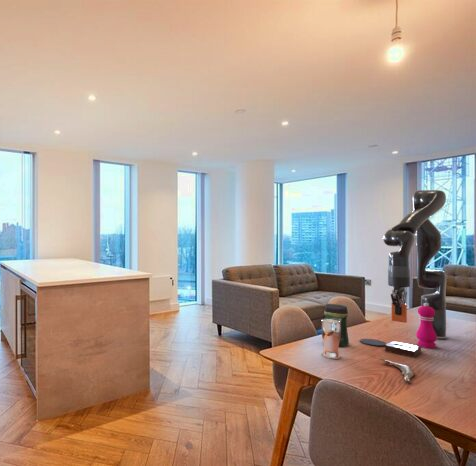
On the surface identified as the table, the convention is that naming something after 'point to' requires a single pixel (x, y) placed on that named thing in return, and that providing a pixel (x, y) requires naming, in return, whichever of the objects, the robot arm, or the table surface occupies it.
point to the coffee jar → (338, 319)
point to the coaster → (373, 342)
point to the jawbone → (405, 369)
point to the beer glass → (331, 338)
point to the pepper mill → (426, 327)
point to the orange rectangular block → (400, 317)
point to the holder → (403, 348)
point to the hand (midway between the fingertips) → (399, 314)
